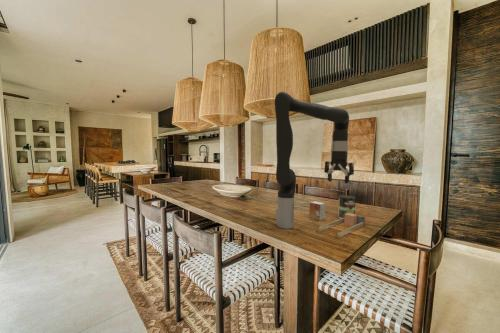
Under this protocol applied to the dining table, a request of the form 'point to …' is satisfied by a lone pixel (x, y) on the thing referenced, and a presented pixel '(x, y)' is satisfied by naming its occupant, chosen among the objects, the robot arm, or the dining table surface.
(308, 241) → the dining table surface
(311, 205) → the small box
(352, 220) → the block
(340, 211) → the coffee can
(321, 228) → the guide channel
